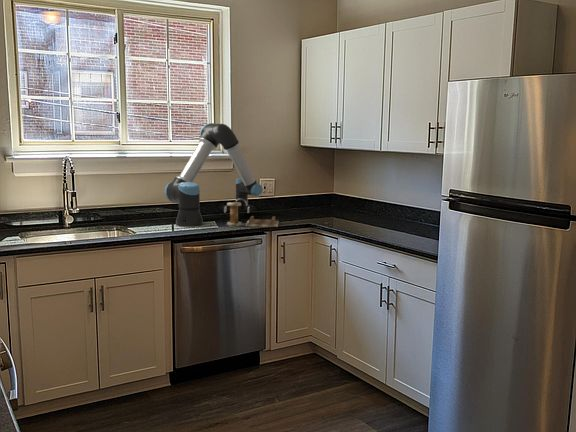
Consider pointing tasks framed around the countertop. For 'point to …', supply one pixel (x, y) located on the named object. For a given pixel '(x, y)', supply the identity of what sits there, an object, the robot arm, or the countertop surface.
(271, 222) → the board
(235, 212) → the bobbin
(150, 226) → the countertop surface
